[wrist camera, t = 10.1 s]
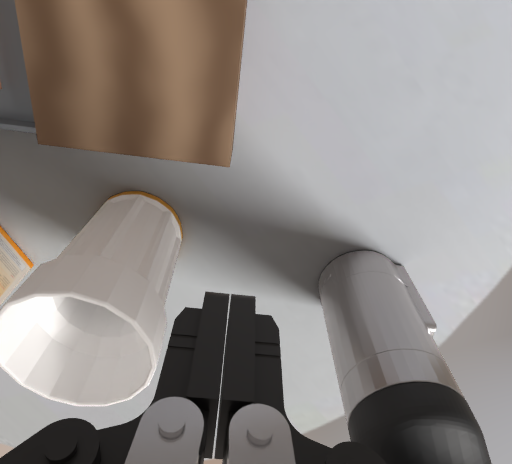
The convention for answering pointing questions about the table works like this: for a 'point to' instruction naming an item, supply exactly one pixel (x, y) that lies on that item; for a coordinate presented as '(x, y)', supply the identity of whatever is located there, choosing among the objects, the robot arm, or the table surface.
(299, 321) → the table surface
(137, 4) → the walnut platform
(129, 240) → the cup
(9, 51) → the slate tray
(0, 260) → the supplement box
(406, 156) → the table surface
